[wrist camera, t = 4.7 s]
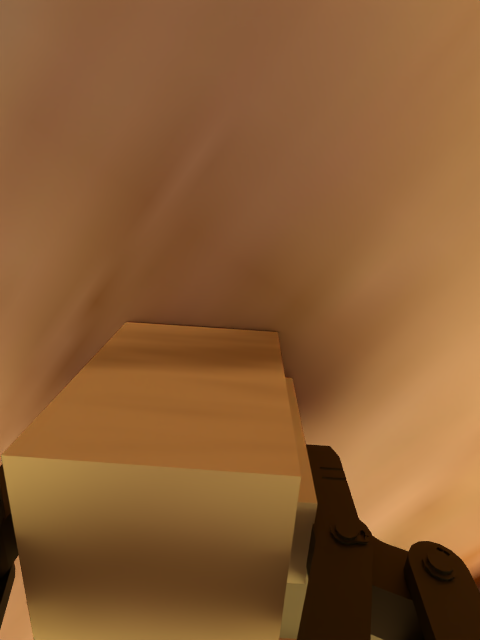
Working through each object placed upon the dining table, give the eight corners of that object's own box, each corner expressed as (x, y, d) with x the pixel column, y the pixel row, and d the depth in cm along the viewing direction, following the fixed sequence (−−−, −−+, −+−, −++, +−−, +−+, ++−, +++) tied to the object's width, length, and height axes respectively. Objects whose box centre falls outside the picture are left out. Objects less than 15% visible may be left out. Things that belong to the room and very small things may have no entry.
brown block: (126, 322, 15) (1, 455, 8) (277, 332, 15) (301, 476, 8) (131, 448, 17) (35, 653, 10) (265, 457, 17) (274, 671, 10)
